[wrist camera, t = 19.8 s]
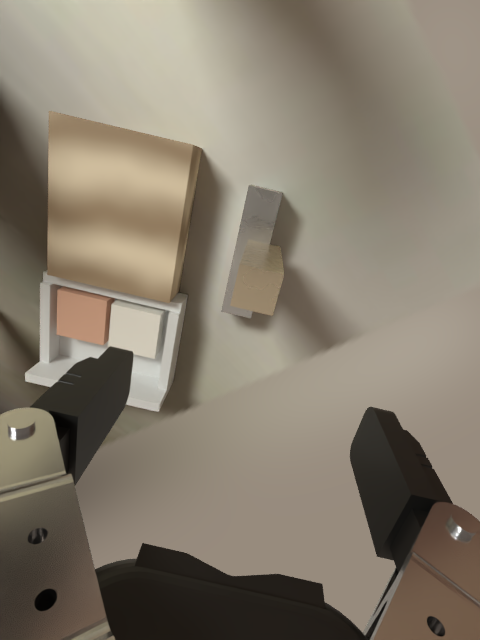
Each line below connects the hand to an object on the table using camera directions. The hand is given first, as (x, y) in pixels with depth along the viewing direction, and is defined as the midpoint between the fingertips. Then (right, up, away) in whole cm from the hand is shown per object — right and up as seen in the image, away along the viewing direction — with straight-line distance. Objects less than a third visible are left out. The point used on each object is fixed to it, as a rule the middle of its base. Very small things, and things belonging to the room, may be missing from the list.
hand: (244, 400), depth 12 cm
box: (-14, +2, +28) cm, 31 cm away
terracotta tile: (-16, +4, +26) cm, 31 cm away
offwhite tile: (-11, +2, +26) cm, 28 cm away
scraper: (+1, +10, +24) cm, 26 cm away
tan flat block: (-11, +13, +23) cm, 29 cm away
